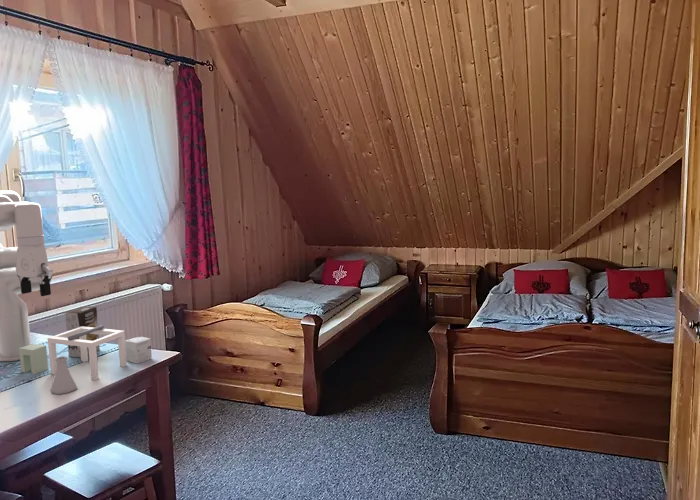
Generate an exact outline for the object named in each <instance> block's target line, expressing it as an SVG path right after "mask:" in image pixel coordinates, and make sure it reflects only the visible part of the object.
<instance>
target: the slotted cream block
mask: <svg viewBox="0 0 700 500" xmlns="http://www.w3.org/2000/svg"><path fill="white" fill-rule="evenodd" d="M47 351H48V350H47V345H44V344H36V343H31V344H30V345H27V346H25V347H22V348H19V353H20V360H19V361H20V368H21V369H20V370H21V371H20V372H21V373H27V372H30V371H31V374H32V375H37V374H38V373H39V374H40V373H41V372H44V371H47V370H49V362H48V353H47Z"/></svg>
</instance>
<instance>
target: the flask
mask: <svg viewBox="0 0 700 500" xmlns="http://www.w3.org/2000/svg"><path fill="white" fill-rule="evenodd" d="M55 360H56V361H57V369H56V373H55V375H54V377H53V380H52V385H51V386H50V393H51V394H55V395H62V394H67V393H72V392H73V391H76V390H77V389H78V387H77V385H76V382H75V381H74V379H73V376H72V375H71V372H70V370H69V368H68V364H67V363H68V362H67V361H68V357H67V356H65V355H63V356H57V358H55Z"/></svg>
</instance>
